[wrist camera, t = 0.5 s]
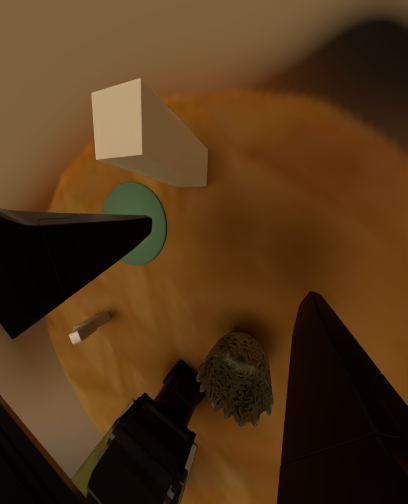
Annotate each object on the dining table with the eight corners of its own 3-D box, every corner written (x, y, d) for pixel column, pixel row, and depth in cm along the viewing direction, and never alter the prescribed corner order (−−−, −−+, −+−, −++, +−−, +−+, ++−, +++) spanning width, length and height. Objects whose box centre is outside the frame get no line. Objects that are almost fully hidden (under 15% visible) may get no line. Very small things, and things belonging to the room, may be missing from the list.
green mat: (145, 279, 29) (143, 280, 29) (94, 235, 32) (92, 235, 32) (181, 211, 25) (179, 211, 24) (118, 167, 27) (116, 166, 27)
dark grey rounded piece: (239, 304, 24) (223, 341, 16) (286, 343, 22) (292, 403, 15) (209, 337, 26) (184, 382, 19) (249, 374, 25) (239, 438, 17)
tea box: (128, 431, 38) (47, 547, 25) (133, 397, 36) (45, 506, 22) (188, 480, 33) (129, 657, 20) (199, 445, 31) (139, 620, 17)
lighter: (98, 322, 36) (53, 349, 28) (95, 315, 36) (49, 339, 28) (121, 316, 33) (77, 344, 26) (118, 307, 33) (72, 333, 26)
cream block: (206, 186, 23) (142, 154, 12) (177, 187, 24) (96, 159, 13) (208, 149, 22) (140, 77, 11) (177, 152, 23) (91, 92, 13)
